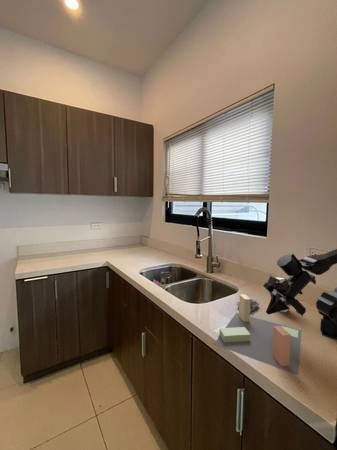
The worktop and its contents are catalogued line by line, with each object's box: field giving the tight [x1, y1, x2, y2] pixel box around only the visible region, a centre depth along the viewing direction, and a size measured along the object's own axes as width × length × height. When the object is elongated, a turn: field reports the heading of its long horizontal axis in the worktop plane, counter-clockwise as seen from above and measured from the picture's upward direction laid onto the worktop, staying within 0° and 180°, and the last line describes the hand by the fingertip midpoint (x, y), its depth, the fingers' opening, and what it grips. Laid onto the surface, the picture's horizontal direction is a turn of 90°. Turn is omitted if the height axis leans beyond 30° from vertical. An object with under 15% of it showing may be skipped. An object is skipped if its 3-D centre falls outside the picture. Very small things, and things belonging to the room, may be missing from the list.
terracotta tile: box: [272, 326, 291, 366], centre depth 70 cm, size 2×5×10 cm, turn 6°
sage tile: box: [218, 327, 251, 342], centre depth 83 cm, size 2×5×10 cm
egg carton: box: [236, 298, 260, 313], centre depth 107 cm, size 11×8×4 cm
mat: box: [213, 312, 302, 375], centre depth 83 cm, size 26×28×1 cm
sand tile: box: [238, 293, 251, 322], centre depth 96 cm, size 2×5×10 cm, turn 6°
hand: (267, 313), depth 83 cm, fingers closed
